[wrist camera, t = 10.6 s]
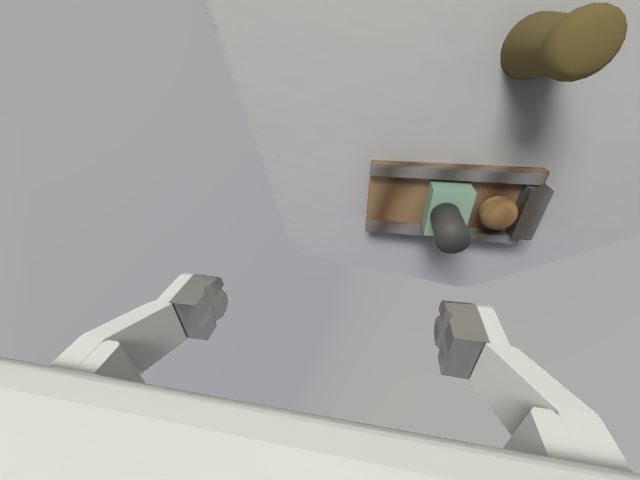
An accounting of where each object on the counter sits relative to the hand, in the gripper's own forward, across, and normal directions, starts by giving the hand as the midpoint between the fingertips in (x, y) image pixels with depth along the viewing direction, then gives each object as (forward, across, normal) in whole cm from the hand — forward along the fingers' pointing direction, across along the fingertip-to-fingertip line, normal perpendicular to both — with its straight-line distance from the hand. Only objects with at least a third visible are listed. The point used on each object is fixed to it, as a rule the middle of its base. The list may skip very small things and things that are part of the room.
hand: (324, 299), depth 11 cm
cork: (+33, -17, -8) cm, 38 cm away
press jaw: (+31, -11, +10) cm, 35 cm away
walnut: (+29, -18, +10) cm, 36 cm away
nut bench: (+33, -12, +10) cm, 36 cm away
